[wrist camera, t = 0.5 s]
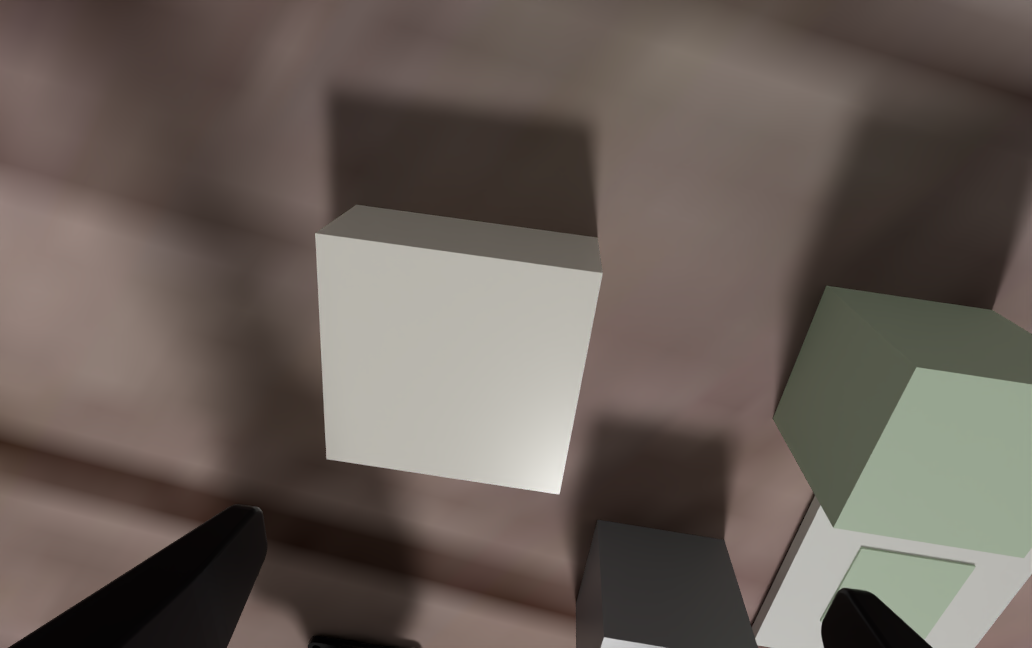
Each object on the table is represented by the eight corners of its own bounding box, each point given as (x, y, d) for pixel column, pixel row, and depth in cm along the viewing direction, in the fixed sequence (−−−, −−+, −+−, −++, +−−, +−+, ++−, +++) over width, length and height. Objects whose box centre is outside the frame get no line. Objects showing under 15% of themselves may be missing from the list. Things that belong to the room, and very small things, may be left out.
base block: (561, 430, 25) (559, 494, 21) (361, 400, 25) (326, 459, 21) (597, 235, 21) (602, 273, 17) (359, 202, 21) (315, 233, 17)
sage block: (917, 439, 23) (1023, 558, 18) (772, 417, 23) (833, 528, 18) (990, 309, 20) (1142, 400, 15) (825, 284, 20) (916, 366, 15)
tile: (944, 665, 28) (952, 679, 28) (748, 633, 29) (752, 646, 28) (1052, 522, 24) (1065, 535, 23) (819, 486, 24) (825, 497, 24)
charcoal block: (690, 621, 29) (717, 751, 23) (575, 602, 29) (576, 727, 24) (723, 538, 26) (762, 663, 21) (597, 518, 26) (603, 637, 21)
